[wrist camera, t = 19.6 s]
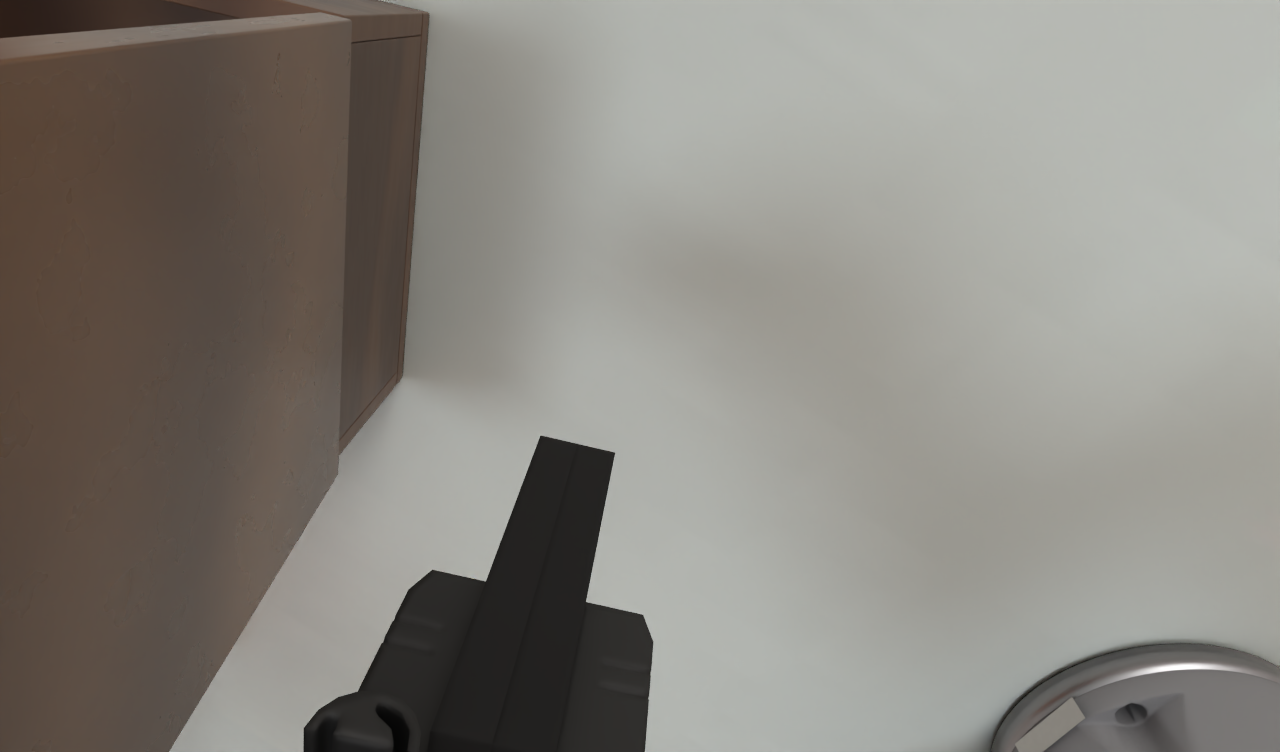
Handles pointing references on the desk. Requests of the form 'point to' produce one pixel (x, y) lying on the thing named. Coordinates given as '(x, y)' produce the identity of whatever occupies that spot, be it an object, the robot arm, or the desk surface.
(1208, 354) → the desk surface
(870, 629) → the desk surface
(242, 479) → the box lid
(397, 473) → the desk surface
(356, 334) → the storage box
